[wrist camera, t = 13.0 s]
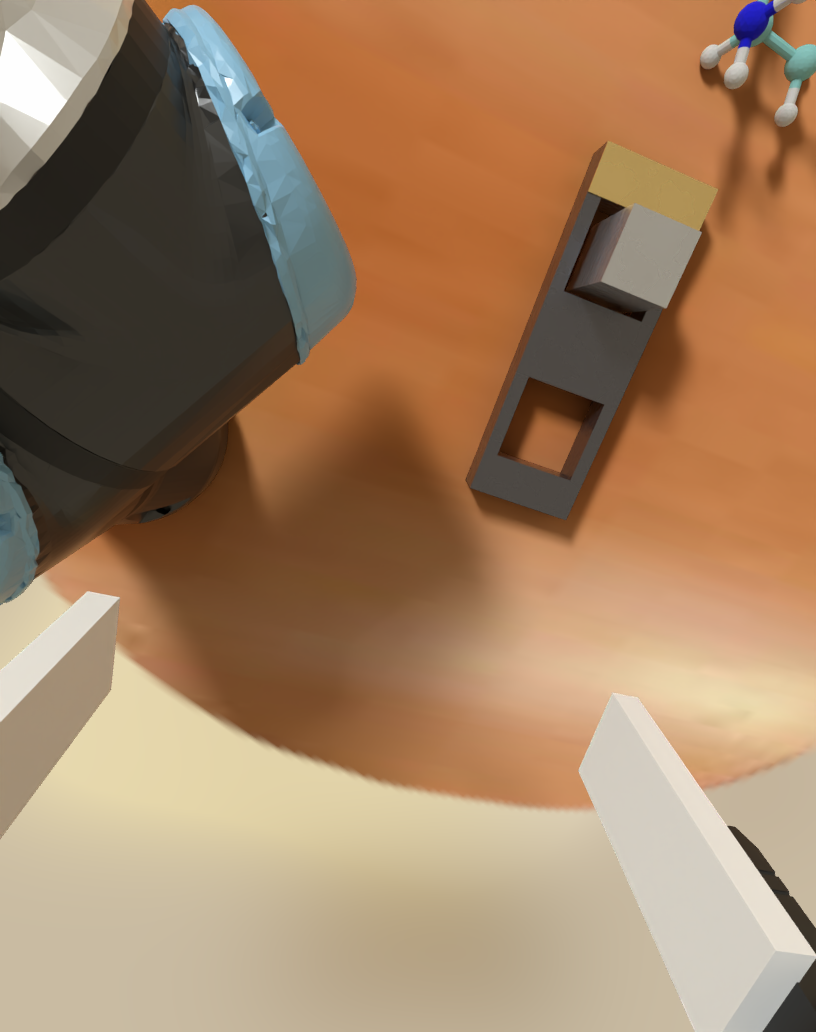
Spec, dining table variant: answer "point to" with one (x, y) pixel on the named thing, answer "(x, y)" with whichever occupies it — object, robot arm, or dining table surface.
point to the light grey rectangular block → (633, 260)
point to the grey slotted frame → (582, 333)
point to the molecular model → (757, 29)
